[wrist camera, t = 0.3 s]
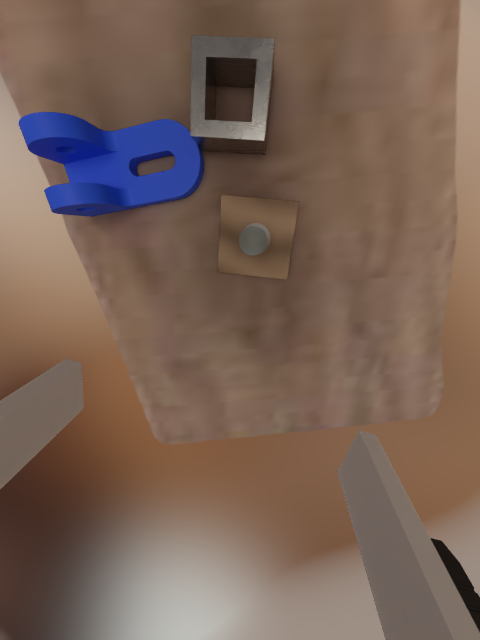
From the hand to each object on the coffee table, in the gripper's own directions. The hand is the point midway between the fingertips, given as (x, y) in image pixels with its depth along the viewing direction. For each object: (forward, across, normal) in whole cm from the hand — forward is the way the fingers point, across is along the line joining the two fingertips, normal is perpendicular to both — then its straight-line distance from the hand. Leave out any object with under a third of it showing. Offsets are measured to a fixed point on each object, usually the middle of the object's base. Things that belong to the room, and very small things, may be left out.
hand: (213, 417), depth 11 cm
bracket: (+27, -18, +12) cm, 35 cm away
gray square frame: (+27, -6, +20) cm, 34 cm away
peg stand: (+27, -1, +7) cm, 28 cm away
